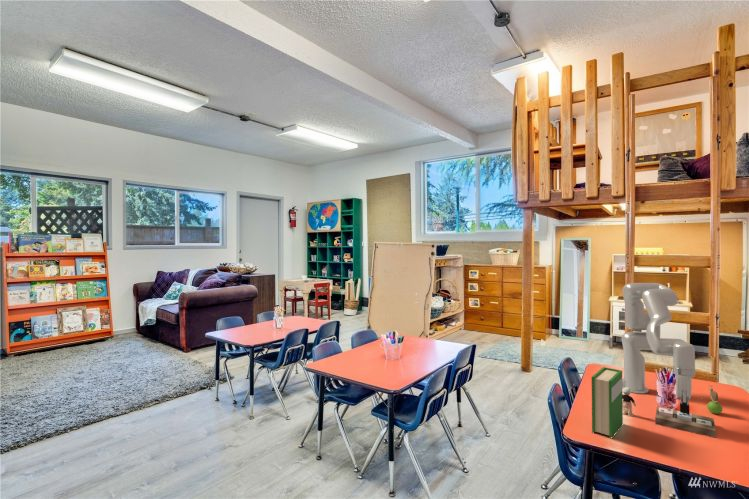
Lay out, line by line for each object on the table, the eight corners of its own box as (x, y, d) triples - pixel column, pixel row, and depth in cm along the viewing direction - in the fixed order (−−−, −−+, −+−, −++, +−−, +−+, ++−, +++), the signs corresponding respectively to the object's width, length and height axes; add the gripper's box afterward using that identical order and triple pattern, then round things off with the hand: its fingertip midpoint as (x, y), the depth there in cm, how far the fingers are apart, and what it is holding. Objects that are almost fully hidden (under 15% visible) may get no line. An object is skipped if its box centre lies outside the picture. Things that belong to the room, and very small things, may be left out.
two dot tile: (658, 416, 171) (658, 410, 170) (659, 412, 174) (659, 406, 174) (672, 419, 167) (672, 413, 167) (672, 415, 171) (672, 409, 171)
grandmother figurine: (637, 415, 177) (637, 388, 176) (635, 418, 174) (635, 390, 174) (618, 410, 182) (617, 384, 182) (616, 413, 179) (616, 386, 179)
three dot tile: (677, 420, 166) (677, 414, 166) (677, 416, 170) (677, 410, 170) (691, 423, 163) (691, 417, 163) (691, 419, 167) (691, 413, 167)
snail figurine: (717, 410, 180) (717, 385, 180) (725, 416, 174) (724, 390, 174) (703, 409, 182) (703, 384, 181) (710, 415, 176) (710, 389, 175)
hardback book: (612, 438, 156) (611, 381, 156) (592, 432, 161) (591, 376, 161) (622, 424, 168) (622, 370, 168) (603, 418, 173) (603, 367, 173)
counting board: (655, 424, 168) (655, 417, 168) (656, 412, 179) (656, 406, 179) (715, 437, 155) (715, 430, 155) (713, 425, 166) (713, 418, 166)
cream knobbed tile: (696, 428, 162) (696, 422, 162) (696, 424, 166) (695, 417, 166) (711, 431, 159) (711, 425, 159) (711, 427, 163) (711, 421, 163)
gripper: (673, 365, 175) (674, 405, 175) (672, 374, 163) (673, 416, 163) (694, 368, 170) (695, 409, 170) (695, 377, 158) (696, 421, 158)
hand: (684, 412), depth 166 cm, fingers closed
